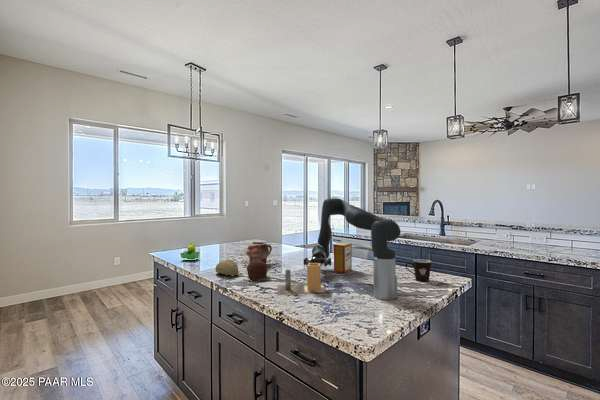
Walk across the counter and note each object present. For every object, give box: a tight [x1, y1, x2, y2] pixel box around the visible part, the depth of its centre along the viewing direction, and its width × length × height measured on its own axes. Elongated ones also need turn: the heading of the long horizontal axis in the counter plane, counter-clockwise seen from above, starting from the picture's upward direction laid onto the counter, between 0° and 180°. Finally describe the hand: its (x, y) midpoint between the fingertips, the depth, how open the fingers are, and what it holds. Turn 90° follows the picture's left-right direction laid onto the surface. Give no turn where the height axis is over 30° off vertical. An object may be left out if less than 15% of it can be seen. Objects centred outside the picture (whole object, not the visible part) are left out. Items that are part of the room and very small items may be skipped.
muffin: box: [246, 260, 269, 281], centre depth 160 cm, size 12×11×10 cm
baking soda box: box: [333, 242, 353, 274], centre depth 177 cm, size 10×6×16 cm
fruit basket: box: [179, 242, 201, 259], centre depth 210 cm, size 11×9×11 cm
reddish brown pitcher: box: [245, 241, 273, 264], centre depth 195 cm, size 20×12×14 cm, turn 141°
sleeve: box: [306, 262, 322, 291], centre depth 140 cm, size 6×6×11 cm
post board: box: [276, 268, 328, 296], centre depth 139 cm, size 22×14×10 cm, turn 92°
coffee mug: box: [405, 258, 432, 283], centre depth 158 cm, size 12×9×10 cm
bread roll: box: [214, 259, 239, 276], centre depth 172 cm, size 10×15×8 cm, turn 59°
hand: (316, 264), depth 151 cm, fingers open, 8 cm apart
